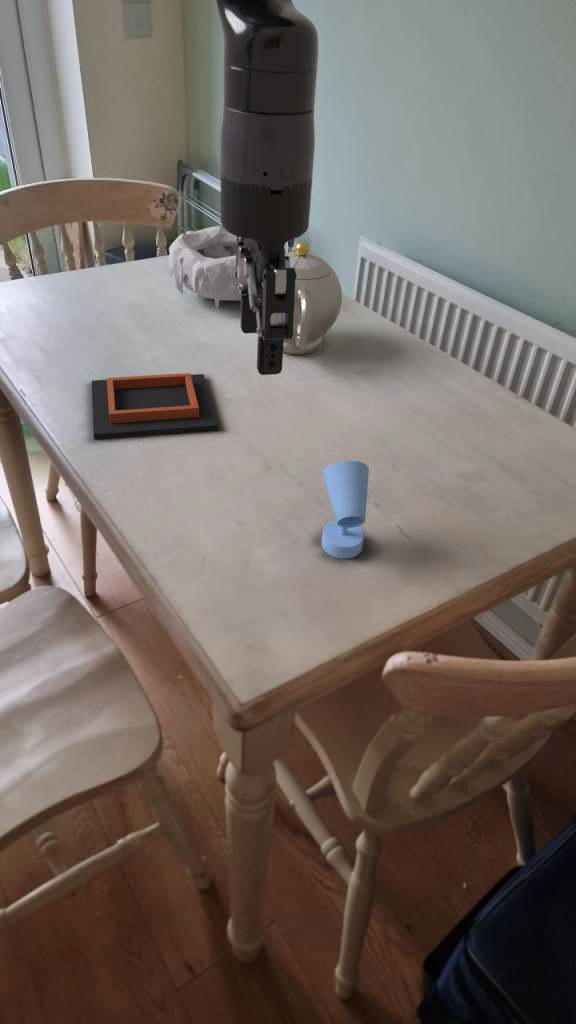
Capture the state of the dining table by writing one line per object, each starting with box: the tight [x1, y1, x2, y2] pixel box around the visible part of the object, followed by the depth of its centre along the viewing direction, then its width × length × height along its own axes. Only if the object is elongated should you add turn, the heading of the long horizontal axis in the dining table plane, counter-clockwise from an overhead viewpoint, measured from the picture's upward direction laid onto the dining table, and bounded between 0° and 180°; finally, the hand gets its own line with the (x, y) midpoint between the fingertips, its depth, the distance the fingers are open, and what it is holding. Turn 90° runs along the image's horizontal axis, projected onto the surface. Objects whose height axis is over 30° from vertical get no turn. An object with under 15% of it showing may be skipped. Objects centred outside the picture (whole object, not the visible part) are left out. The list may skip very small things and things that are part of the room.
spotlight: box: [320, 460, 370, 560], centre depth 73 cm, size 5×10×7 cm
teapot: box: [271, 241, 343, 355], centre depth 107 cm, size 18×14×16 cm
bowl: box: [168, 225, 244, 309], centre depth 123 cm, size 21×20×10 cm
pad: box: [91, 372, 219, 440], centre depth 95 cm, size 16×14×2 cm
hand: (260, 351), depth 67 cm, fingers open, 8 cm apart
